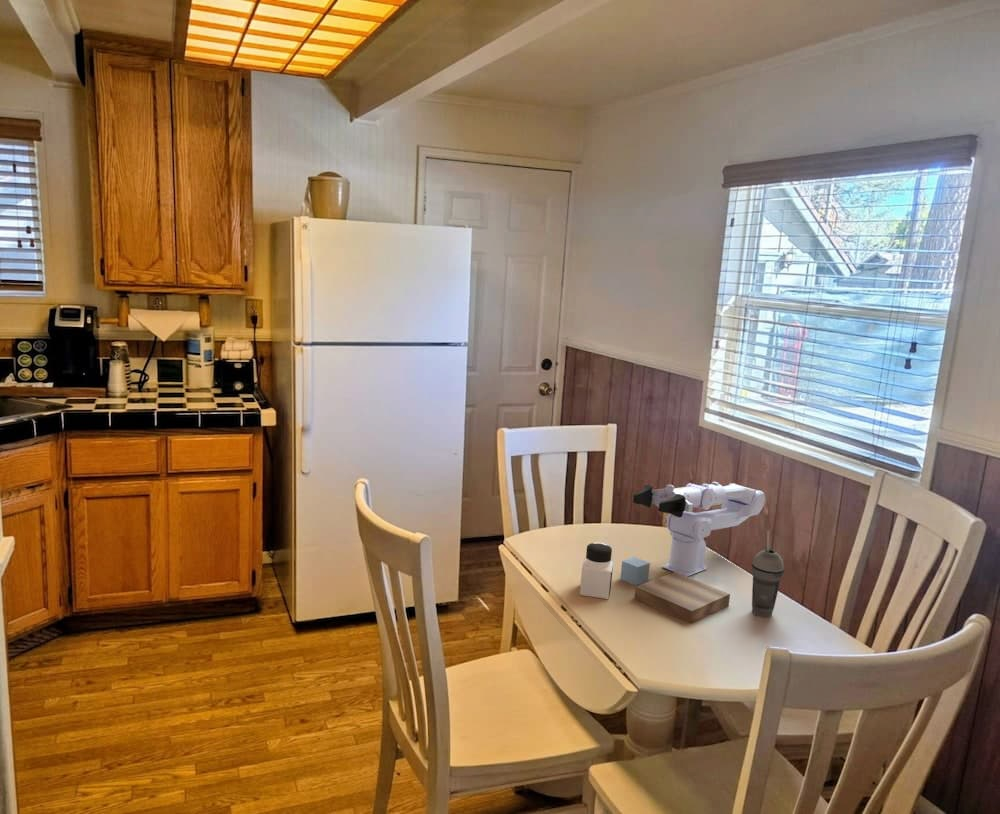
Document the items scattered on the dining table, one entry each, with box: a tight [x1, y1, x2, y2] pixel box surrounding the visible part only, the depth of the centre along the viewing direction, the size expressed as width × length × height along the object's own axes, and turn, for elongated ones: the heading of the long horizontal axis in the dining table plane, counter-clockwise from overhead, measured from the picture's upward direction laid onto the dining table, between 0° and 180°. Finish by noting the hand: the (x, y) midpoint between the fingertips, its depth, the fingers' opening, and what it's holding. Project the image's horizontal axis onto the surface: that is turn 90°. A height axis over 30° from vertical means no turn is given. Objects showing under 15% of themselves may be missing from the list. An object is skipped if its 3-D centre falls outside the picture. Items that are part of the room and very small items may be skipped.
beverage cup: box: [751, 530, 785, 619], centre depth 178 cm, size 7×7×20 cm
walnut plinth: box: [634, 571, 731, 624], centre depth 183 cm, size 16×16×3 cm
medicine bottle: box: [579, 541, 614, 600], centre depth 185 cm, size 7×7×12 cm
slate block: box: [620, 556, 651, 587], centre depth 194 cm, size 5×5×5 cm
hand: (647, 503), depth 187 cm, fingers open, 7 cm apart
